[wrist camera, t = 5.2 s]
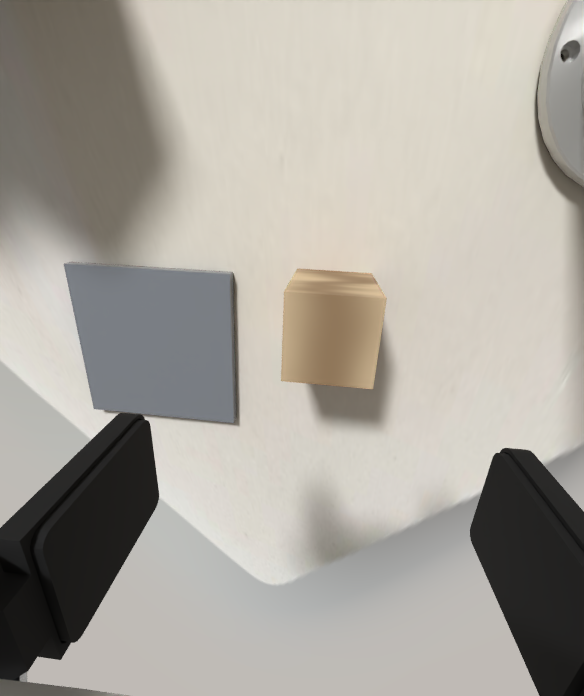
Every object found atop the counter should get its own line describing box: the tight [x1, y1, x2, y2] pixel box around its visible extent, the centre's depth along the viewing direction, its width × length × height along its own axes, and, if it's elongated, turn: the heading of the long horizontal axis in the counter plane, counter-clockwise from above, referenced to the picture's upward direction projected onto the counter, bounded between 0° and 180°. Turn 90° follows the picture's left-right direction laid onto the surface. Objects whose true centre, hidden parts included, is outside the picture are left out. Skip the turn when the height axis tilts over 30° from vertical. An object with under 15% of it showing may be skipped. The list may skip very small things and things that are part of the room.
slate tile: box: [64, 262, 236, 423], centre depth 26 cm, size 12×12×1 cm
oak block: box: [281, 269, 387, 389], centre depth 21 cm, size 5×5×7 cm
